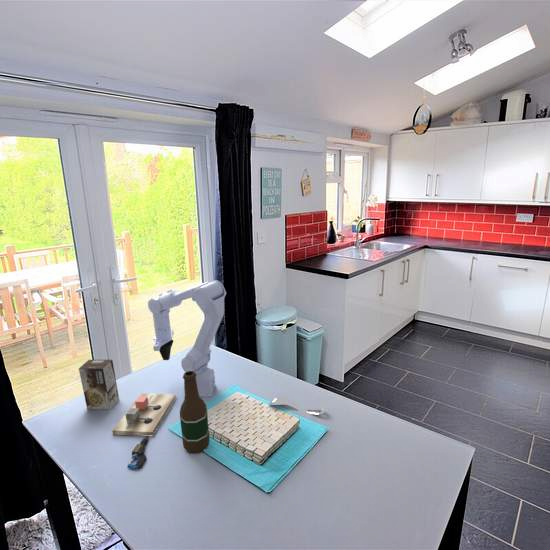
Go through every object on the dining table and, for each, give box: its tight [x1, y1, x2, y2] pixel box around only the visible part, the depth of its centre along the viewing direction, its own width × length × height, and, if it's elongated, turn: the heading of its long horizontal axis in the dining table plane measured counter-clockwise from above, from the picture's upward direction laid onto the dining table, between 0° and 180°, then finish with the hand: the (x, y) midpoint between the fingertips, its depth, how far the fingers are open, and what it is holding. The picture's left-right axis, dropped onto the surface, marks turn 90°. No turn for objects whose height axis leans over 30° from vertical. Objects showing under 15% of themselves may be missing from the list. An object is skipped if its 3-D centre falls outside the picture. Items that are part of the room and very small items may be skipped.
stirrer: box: [268, 396, 326, 416], centre depth 122 cm, size 20×4×5 cm
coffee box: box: [78, 359, 120, 410], centre depth 127 cm, size 9×6×16 cm
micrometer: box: [127, 436, 149, 470], centre depth 105 cm, size 12×2×5 cm
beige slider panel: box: [112, 392, 177, 436], centre depth 121 cm, size 13×20×5 cm, turn 174°
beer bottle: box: [179, 371, 210, 455], centre depth 104 cm, size 8×8×24 cm
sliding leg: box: [134, 395, 158, 410], centre depth 123 cm, size 7×3×3 cm, turn 84°
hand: (166, 359), depth 140 cm, fingers closed
